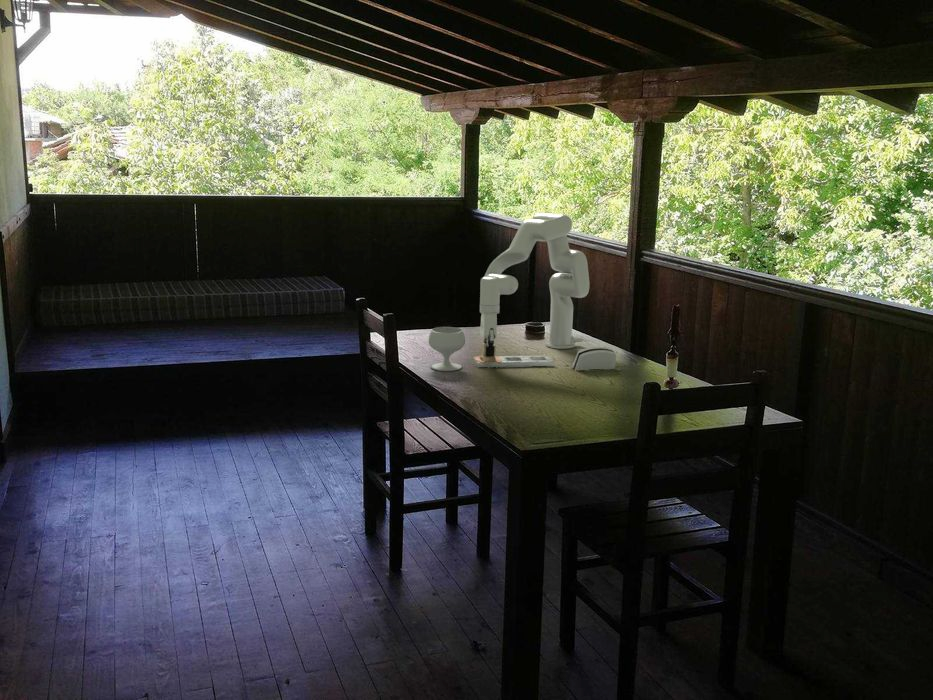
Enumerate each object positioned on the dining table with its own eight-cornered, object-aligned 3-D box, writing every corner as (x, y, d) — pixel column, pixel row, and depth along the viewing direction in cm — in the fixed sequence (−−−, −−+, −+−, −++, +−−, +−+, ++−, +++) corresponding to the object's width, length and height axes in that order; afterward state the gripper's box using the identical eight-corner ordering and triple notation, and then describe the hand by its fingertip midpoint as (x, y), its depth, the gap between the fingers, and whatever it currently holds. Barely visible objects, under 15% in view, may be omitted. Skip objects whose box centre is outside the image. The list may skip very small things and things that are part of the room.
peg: (492, 362, 346) (493, 343, 344) (495, 365, 342) (495, 345, 340) (481, 363, 345) (482, 343, 343) (483, 365, 341) (484, 345, 339)
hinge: (610, 365, 345) (615, 344, 340) (614, 372, 341) (619, 350, 336) (570, 367, 341) (575, 346, 336) (574, 374, 337) (579, 352, 332)
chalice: (457, 362, 346) (458, 325, 342) (469, 371, 333) (470, 332, 329) (423, 365, 341) (423, 327, 338) (434, 373, 328) (435, 334, 325)
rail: (547, 360, 352) (547, 354, 352) (553, 366, 342) (553, 360, 342) (473, 361, 347) (473, 356, 347) (477, 367, 338) (477, 362, 337)
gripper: (476, 305, 346) (475, 350, 350) (483, 312, 330) (482, 360, 334) (495, 304, 347) (494, 349, 351) (503, 312, 331) (502, 359, 335)
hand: (488, 354), depth 342 cm, fingers open, 4 cm apart
